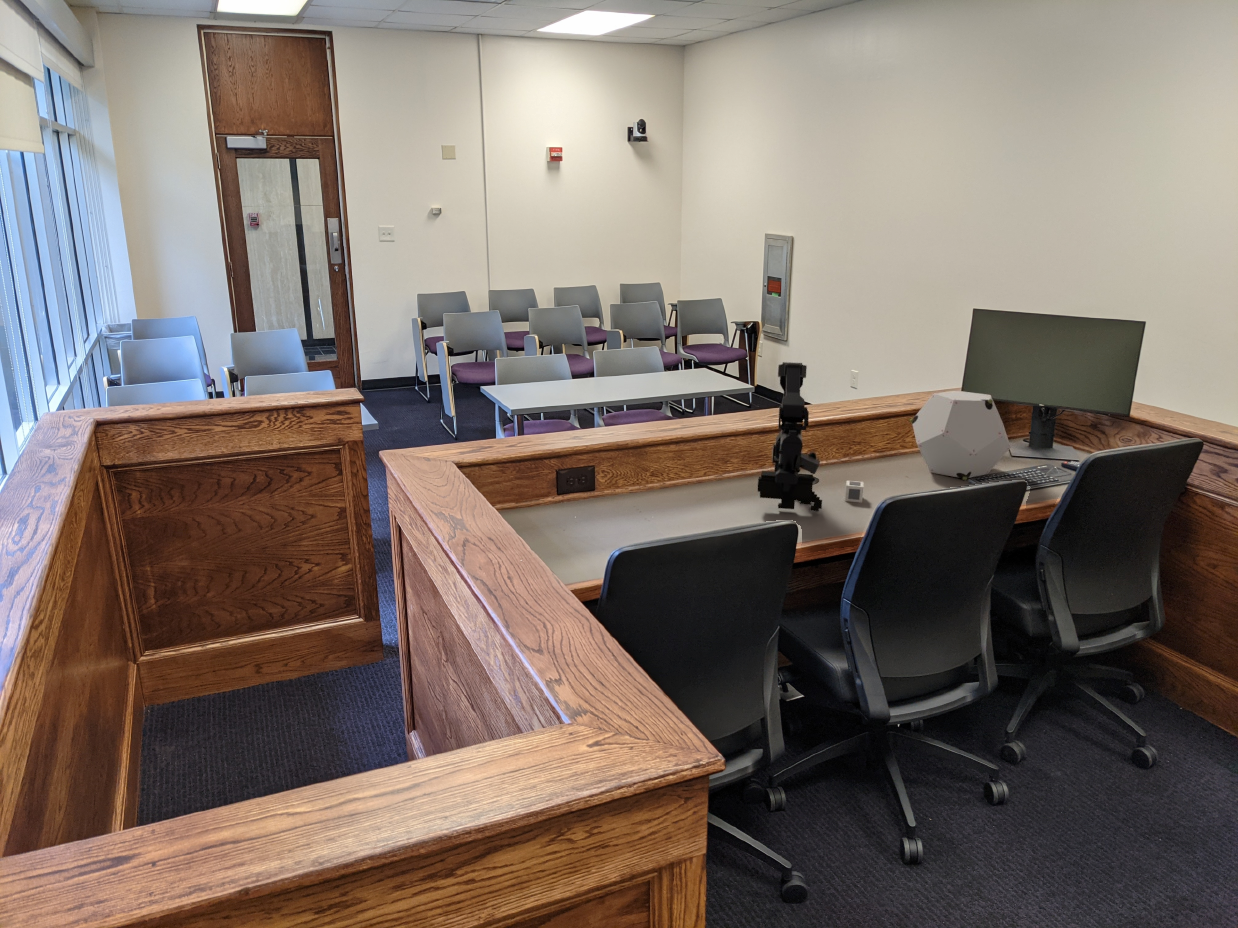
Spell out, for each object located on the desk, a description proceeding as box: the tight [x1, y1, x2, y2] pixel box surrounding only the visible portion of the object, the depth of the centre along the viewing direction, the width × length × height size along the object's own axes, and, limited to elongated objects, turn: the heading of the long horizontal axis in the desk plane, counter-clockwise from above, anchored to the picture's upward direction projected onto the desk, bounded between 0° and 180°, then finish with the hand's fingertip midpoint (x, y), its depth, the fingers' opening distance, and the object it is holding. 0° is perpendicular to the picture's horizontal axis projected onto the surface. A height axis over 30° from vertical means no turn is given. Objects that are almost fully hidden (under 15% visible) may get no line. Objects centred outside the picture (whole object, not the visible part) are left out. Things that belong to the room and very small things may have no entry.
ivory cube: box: [844, 480, 865, 503], centre depth 266 cm, size 5×5×5 cm
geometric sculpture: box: [909, 390, 1012, 481], centre depth 291 cm, size 30×30×30 cm
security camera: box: [757, 470, 823, 512], centre depth 254 cm, size 7×18×10 cm, turn 78°
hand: (786, 497), depth 254 cm, fingers closed on security camera, 7 cm apart
